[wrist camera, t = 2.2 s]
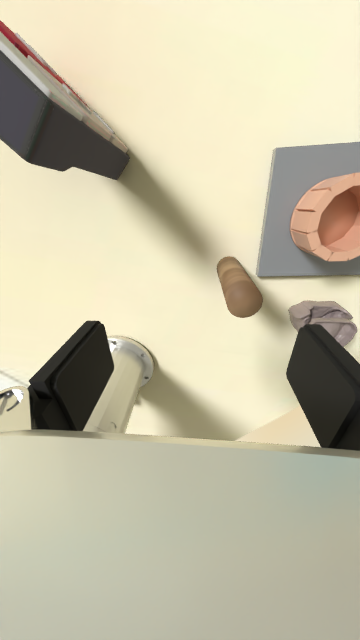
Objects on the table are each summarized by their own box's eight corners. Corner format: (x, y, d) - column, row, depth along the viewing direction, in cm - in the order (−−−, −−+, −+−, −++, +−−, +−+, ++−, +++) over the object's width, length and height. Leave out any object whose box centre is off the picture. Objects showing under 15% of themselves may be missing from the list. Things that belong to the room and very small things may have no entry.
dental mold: (277, 332, 34) (289, 351, 30) (295, 294, 31) (311, 309, 26) (324, 340, 34) (343, 360, 30) (347, 303, 31) (372, 319, 26)
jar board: (360, 272, 28) (394, 286, 23) (255, 274, 29) (267, 287, 25) (412, 140, 21) (475, 120, 16) (273, 150, 23) (293, 134, 18)
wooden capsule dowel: (238, 278, 30) (259, 317, 19) (216, 278, 30) (225, 317, 20) (240, 256, 28) (265, 285, 18) (217, 256, 29) (228, 286, 18)
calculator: (135, 152, 24) (58, 87, 11) (115, 185, 25) (28, 164, 12) (48, 61, 21) (-210, -187, 8) (32, 106, 22) (-199, -33, 9)
